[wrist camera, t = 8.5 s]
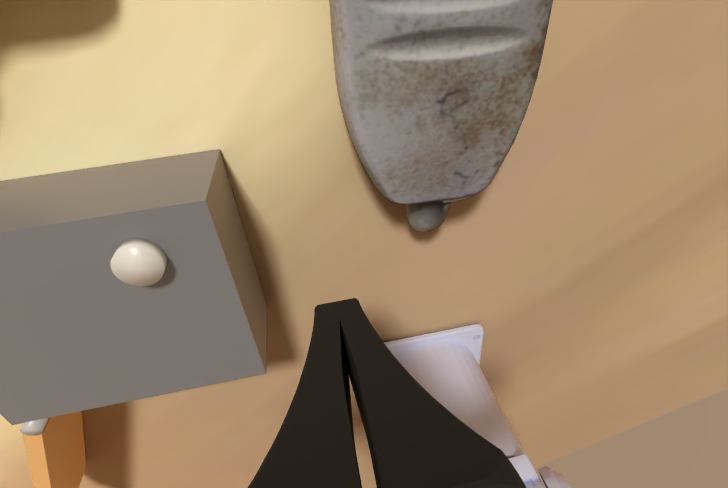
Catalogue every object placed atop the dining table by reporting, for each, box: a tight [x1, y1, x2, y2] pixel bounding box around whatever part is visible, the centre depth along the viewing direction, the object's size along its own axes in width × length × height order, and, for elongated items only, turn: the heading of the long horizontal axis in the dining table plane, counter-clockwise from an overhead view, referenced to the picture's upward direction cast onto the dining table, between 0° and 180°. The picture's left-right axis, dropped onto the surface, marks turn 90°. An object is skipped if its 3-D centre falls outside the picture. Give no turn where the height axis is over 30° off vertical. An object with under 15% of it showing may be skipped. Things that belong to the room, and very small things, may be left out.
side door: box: [20, 411, 86, 488], centre depth 25 cm, size 2×12×5 cm, turn 163°
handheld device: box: [329, 0, 553, 232], centre depth 16 cm, size 10×20×5 cm, turn 4°
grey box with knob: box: [0, 149, 267, 425], centre depth 19 cm, size 10×13×6 cm
